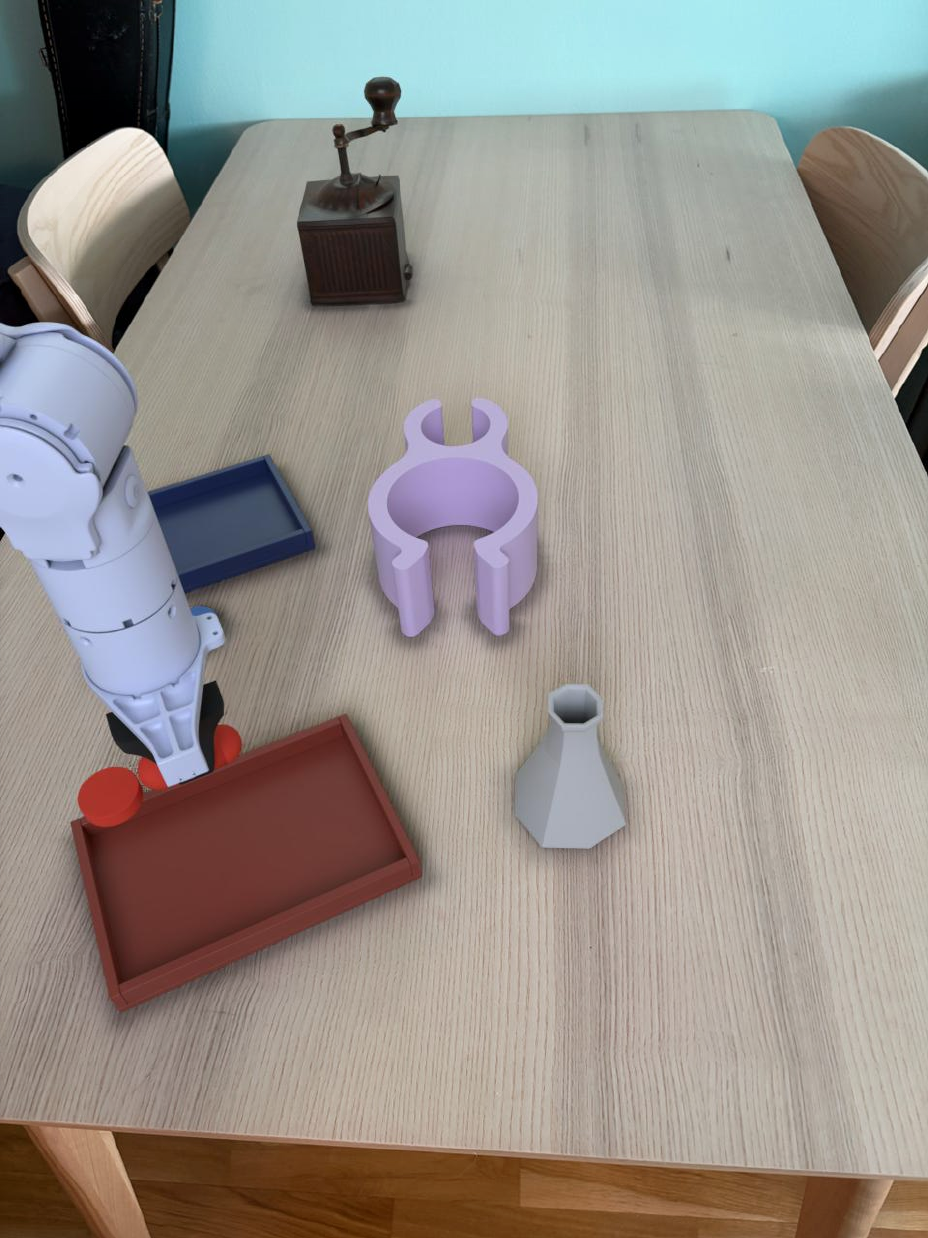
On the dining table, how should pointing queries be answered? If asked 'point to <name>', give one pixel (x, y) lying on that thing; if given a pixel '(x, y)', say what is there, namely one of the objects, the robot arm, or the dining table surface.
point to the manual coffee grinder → (356, 222)
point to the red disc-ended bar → (121, 793)
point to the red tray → (240, 860)
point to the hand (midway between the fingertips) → (189, 755)
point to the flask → (570, 776)
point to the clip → (455, 515)
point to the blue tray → (230, 522)
